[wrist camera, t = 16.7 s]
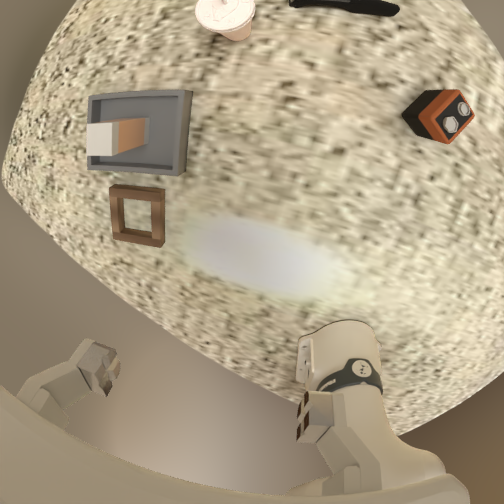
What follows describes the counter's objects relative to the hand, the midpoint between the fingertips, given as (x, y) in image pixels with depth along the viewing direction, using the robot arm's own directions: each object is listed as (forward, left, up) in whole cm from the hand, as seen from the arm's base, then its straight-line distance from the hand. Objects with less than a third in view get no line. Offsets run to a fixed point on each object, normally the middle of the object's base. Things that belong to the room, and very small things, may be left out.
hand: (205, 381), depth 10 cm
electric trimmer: (+30, -7, -33) cm, 45 cm away
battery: (+16, -22, -33) cm, 42 cm away
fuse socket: (-8, +19, -32) cm, 38 cm away
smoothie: (+22, +6, -33) cm, 40 cm away
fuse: (+6, +19, -31) cm, 37 cm away
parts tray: (+6, +19, -32) cm, 38 cm away
